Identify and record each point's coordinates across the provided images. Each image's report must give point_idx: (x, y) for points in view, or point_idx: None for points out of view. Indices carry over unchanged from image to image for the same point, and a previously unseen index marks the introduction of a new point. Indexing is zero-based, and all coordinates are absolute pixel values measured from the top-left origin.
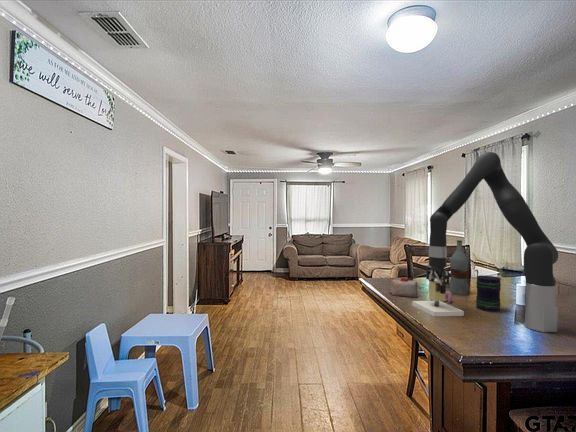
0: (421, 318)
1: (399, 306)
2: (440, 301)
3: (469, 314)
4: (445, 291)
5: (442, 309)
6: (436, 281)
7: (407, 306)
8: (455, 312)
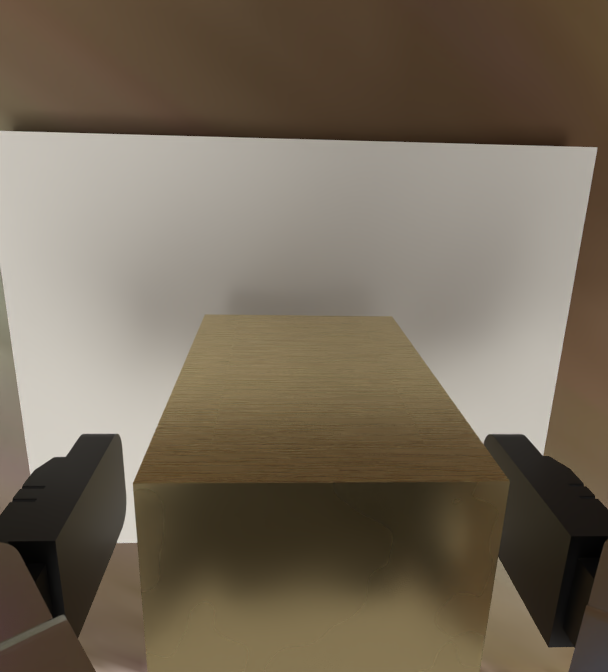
0: (527, 634)
1: (108, 650)
2: (34, 141)
3: (529, 8)
4: (572, 474)
5: (460, 388)
6: (237, 610)
7: (108, 576)
8: (567, 273)
